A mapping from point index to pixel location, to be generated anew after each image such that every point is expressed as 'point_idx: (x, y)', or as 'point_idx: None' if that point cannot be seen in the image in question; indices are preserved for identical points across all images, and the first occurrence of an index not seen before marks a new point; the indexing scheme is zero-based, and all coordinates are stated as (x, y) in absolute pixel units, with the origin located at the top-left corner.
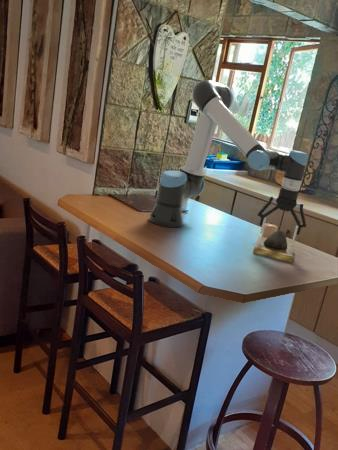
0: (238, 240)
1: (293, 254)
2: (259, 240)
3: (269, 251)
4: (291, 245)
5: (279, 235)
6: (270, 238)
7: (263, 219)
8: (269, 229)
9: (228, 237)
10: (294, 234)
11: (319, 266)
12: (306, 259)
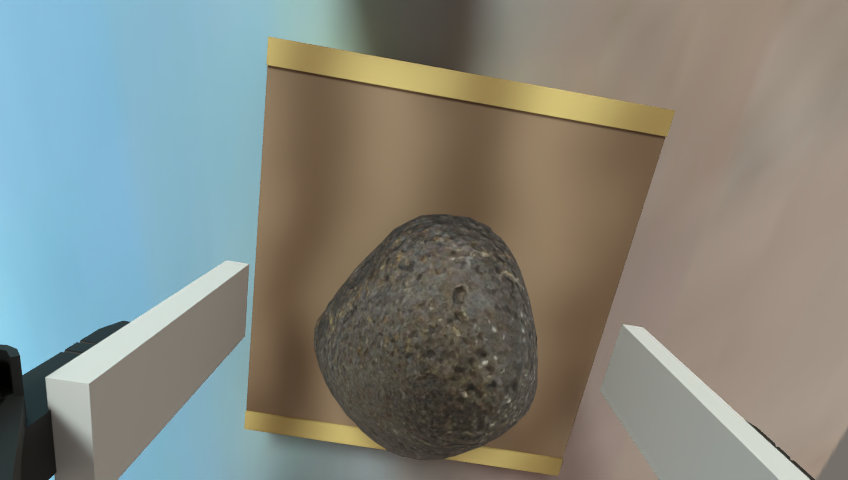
0: (116, 151)
1: (574, 415)
2: (282, 204)
3: (371, 441)
4: (633, 137)
5: (436, 454)
6: (348, 416)
7: (65, 457)
8: None
9: (15, 119)
10: (651, 464)
11: (761, 395)
12: (703, 293)
